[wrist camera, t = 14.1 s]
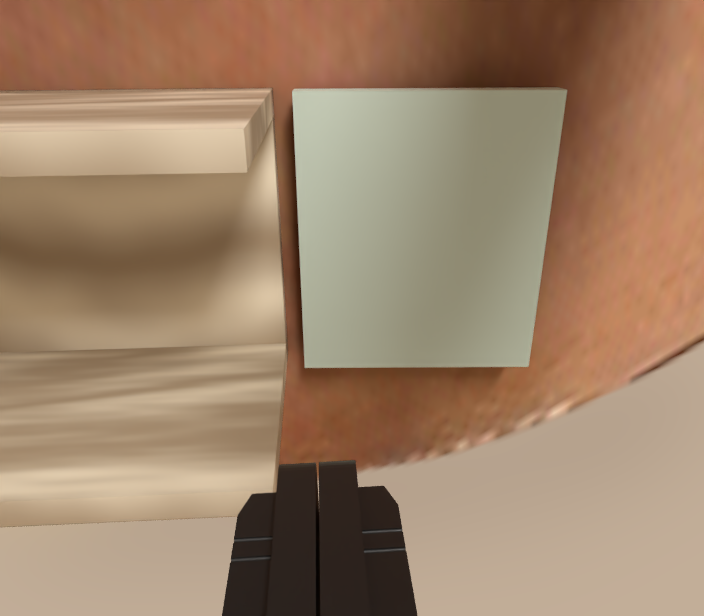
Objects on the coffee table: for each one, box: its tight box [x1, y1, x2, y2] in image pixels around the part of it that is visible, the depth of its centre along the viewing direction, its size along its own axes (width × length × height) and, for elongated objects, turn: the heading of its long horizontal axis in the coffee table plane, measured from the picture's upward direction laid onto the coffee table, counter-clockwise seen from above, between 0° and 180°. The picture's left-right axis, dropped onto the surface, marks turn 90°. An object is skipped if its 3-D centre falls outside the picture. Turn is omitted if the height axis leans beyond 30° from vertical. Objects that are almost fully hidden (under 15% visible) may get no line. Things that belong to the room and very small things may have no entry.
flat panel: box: [292, 87, 567, 368], centre depth 29 cm, size 14×1×12 cm
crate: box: [0, 88, 288, 527], centre depth 24 cm, size 14×21×12 cm, turn 90°
